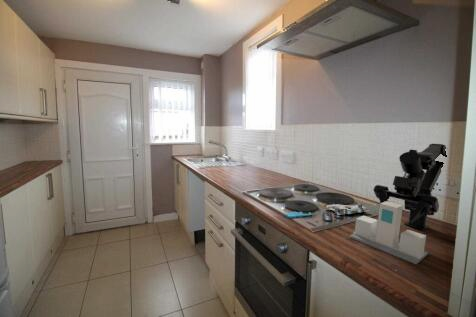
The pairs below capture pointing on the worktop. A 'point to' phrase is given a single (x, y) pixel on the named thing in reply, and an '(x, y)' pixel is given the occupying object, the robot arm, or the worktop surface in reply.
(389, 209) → the block
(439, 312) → the worktop surface
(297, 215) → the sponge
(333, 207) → the gun
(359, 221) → the board
